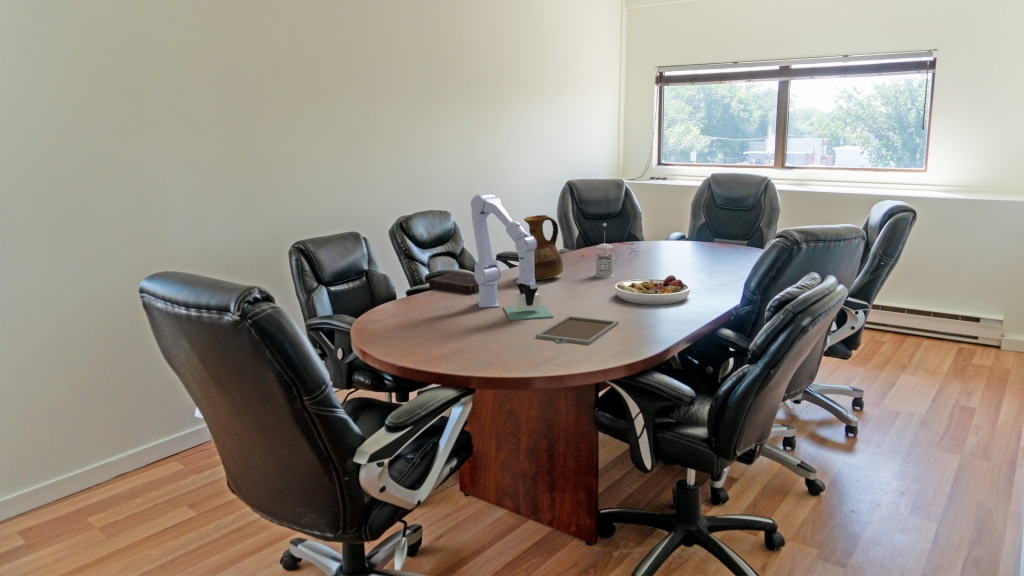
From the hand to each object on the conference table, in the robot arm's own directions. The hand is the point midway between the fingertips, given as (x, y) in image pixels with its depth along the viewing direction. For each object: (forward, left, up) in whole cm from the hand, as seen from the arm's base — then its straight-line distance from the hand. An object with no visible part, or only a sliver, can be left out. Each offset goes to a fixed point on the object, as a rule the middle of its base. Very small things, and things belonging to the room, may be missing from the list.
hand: (527, 303), depth 260 cm
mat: (0, 0, -4) cm, 4 cm away
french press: (-62, +49, -4) cm, 79 cm away
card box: (0, 0, -2) cm, 2 cm away
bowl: (-13, +54, -4) cm, 56 cm away
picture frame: (+29, +12, -4) cm, 31 cm away
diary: (-52, -20, -4) cm, 55 cm away
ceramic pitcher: (-63, +18, -4) cm, 66 cm away
